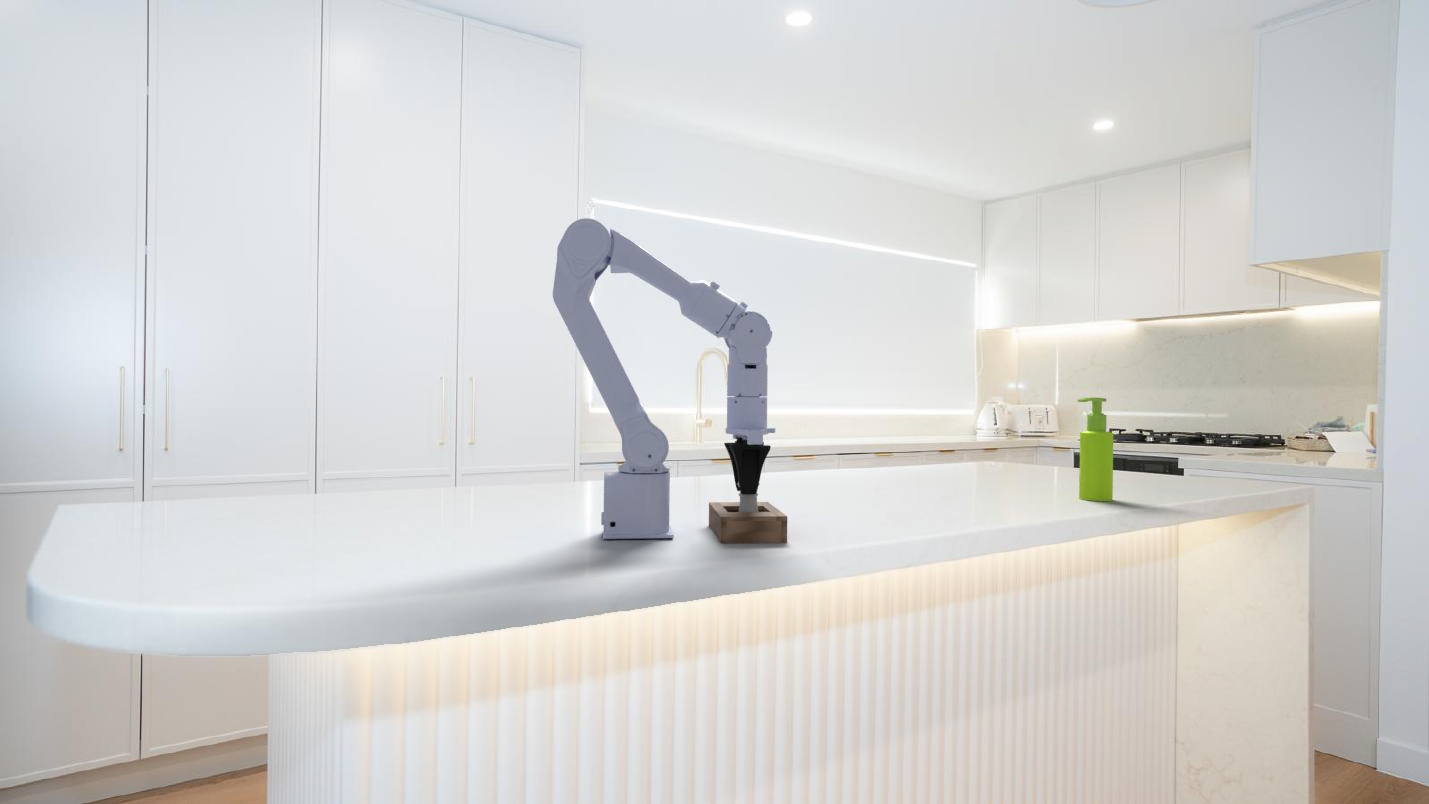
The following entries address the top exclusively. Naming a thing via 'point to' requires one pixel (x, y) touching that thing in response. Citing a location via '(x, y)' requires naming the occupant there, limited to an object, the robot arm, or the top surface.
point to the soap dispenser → (1096, 456)
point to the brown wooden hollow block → (747, 523)
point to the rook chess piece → (748, 502)
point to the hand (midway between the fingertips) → (746, 492)
